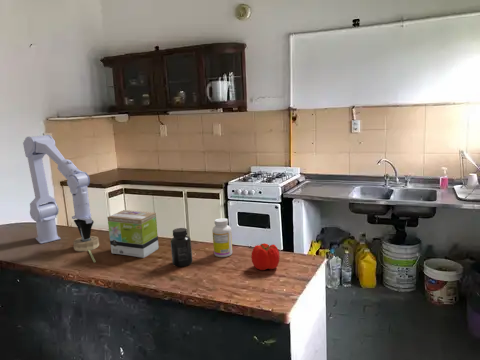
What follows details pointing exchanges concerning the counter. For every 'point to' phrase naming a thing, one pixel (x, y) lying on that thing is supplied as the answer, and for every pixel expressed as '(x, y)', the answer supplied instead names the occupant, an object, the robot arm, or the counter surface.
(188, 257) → the supplement bottle
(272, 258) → the red bell pepper
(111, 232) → the tea box
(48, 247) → the counter surface
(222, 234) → the supplement bottle
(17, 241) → the counter surface
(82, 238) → the white-tipped blue cylinder
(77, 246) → the bead
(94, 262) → the strip
